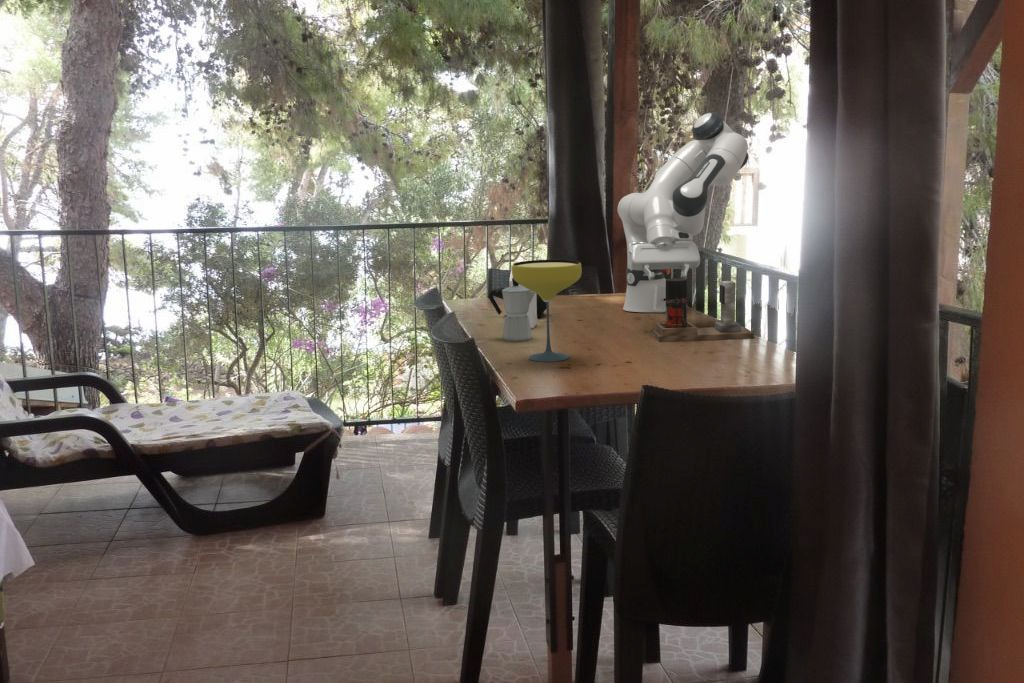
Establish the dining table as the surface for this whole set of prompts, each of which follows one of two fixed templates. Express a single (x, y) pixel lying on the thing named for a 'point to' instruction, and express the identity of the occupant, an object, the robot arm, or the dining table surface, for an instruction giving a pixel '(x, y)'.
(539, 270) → the cocktail glass
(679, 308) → the deodorant
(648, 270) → the robot arm
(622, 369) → the dining table surface
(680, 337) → the wooden stand
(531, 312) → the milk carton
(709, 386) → the dining table surface
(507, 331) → the coffee maker
